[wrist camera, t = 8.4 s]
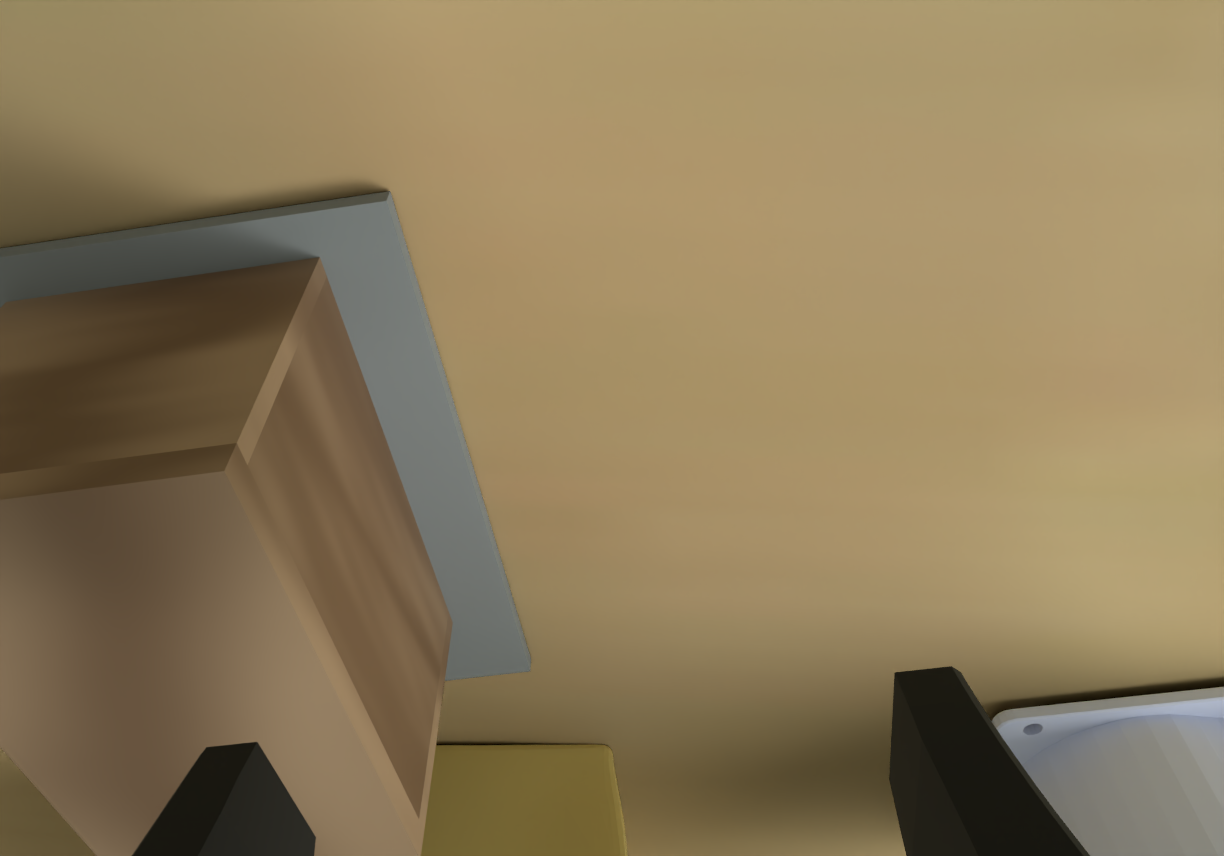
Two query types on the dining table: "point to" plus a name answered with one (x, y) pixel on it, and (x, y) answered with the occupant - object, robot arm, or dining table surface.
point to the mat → (387, 355)
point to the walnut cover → (210, 559)
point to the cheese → (524, 802)
